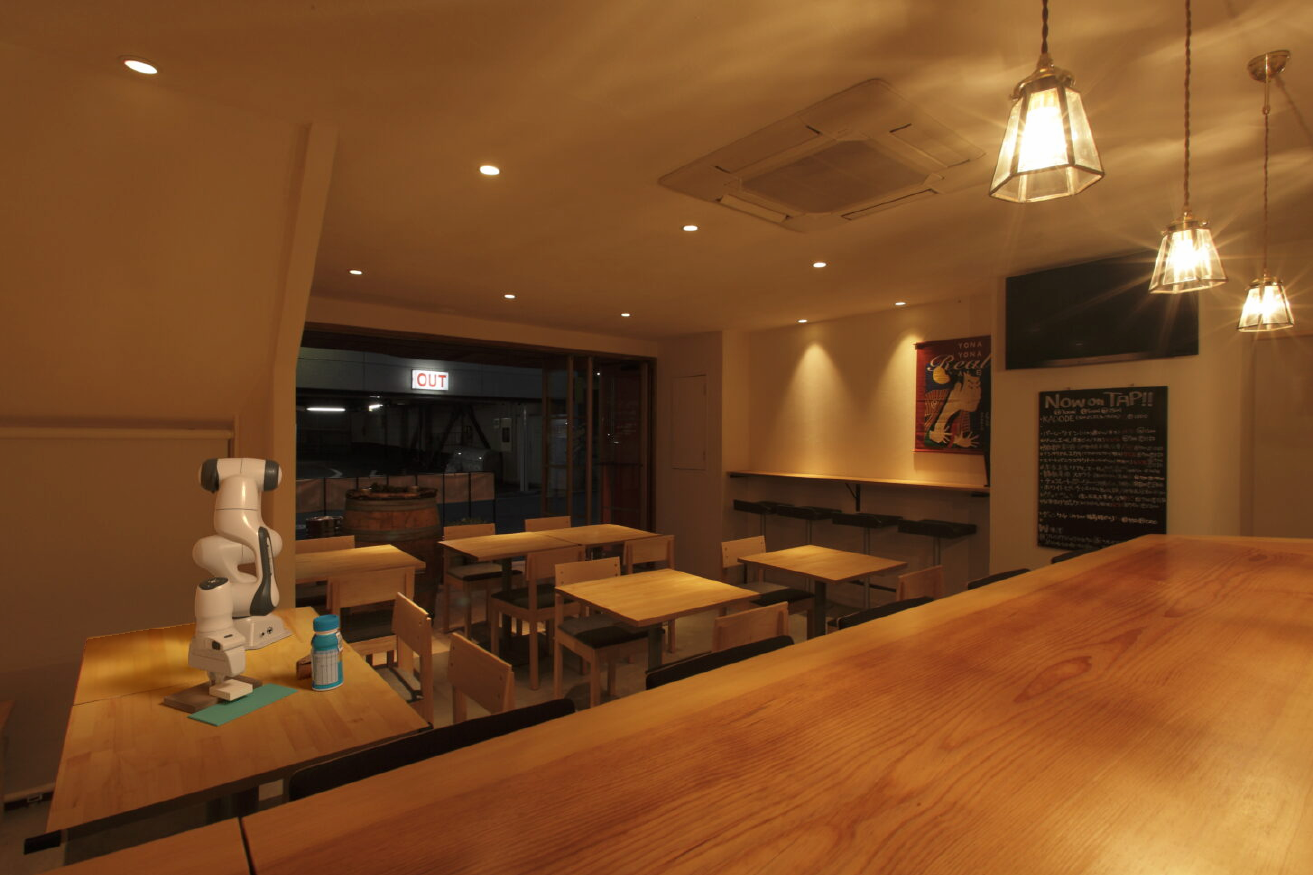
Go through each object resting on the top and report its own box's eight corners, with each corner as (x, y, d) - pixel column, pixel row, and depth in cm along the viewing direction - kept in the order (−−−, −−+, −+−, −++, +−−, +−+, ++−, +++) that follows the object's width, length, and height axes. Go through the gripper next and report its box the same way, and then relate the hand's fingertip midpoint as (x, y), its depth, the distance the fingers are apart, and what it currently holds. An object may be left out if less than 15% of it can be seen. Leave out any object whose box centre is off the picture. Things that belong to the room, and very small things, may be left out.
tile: (231, 685, 178) (231, 678, 178) (252, 691, 175) (252, 684, 175) (209, 694, 173) (209, 687, 173) (230, 700, 169) (230, 693, 169)
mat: (269, 684, 184) (269, 682, 184) (297, 691, 179) (297, 689, 179) (188, 717, 164) (188, 715, 164) (217, 726, 159) (217, 724, 159)
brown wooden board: (231, 679, 188) (231, 672, 188) (262, 686, 182) (262, 680, 182) (163, 704, 171) (163, 697, 171) (195, 713, 166) (195, 706, 166)
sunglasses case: (294, 661, 201) (306, 641, 203) (316, 668, 205) (327, 648, 206) (296, 681, 186) (309, 659, 188) (320, 688, 189) (332, 667, 191)
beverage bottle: (321, 694, 177) (319, 624, 176) (305, 687, 181) (303, 619, 181) (350, 683, 184) (348, 616, 183) (333, 677, 189) (331, 611, 188)
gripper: (180, 636, 177) (181, 684, 177) (226, 646, 169) (227, 696, 169) (204, 629, 183) (205, 676, 183) (249, 638, 174) (251, 687, 175)
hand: (216, 686), depth 176 cm, fingers closed
